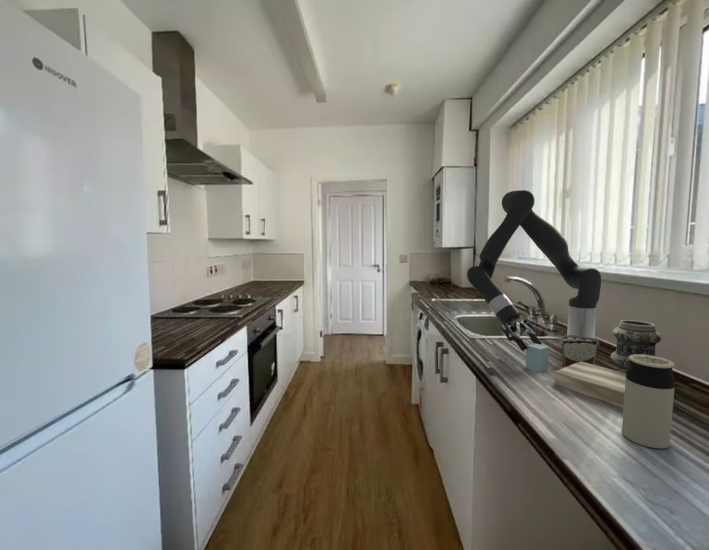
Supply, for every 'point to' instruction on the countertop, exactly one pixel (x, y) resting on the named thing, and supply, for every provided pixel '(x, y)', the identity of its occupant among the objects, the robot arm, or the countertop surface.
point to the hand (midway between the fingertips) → (532, 347)
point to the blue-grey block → (537, 357)
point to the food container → (578, 349)
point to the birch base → (593, 382)
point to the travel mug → (648, 401)
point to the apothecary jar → (634, 341)
